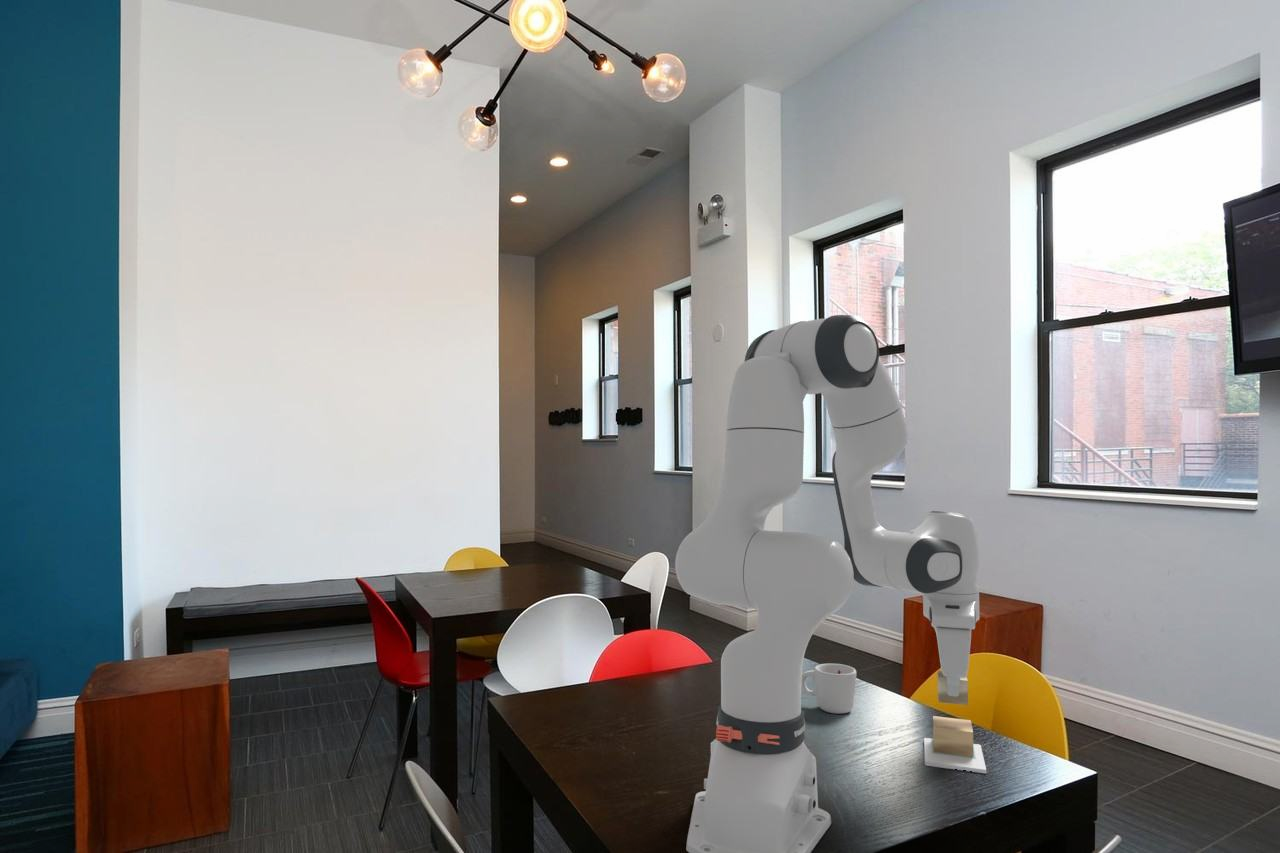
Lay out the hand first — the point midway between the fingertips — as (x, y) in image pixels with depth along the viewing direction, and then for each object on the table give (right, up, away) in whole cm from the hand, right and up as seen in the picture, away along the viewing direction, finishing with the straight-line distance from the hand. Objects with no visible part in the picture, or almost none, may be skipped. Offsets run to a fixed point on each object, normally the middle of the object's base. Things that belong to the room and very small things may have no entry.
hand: (952, 689), depth 126 cm
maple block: (0, -2, 0) cm, 2 cm away
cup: (-16, -11, +21) cm, 29 cm away
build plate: (-1, -10, -2) cm, 11 cm away
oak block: (0, -10, -1) cm, 10 cm away
